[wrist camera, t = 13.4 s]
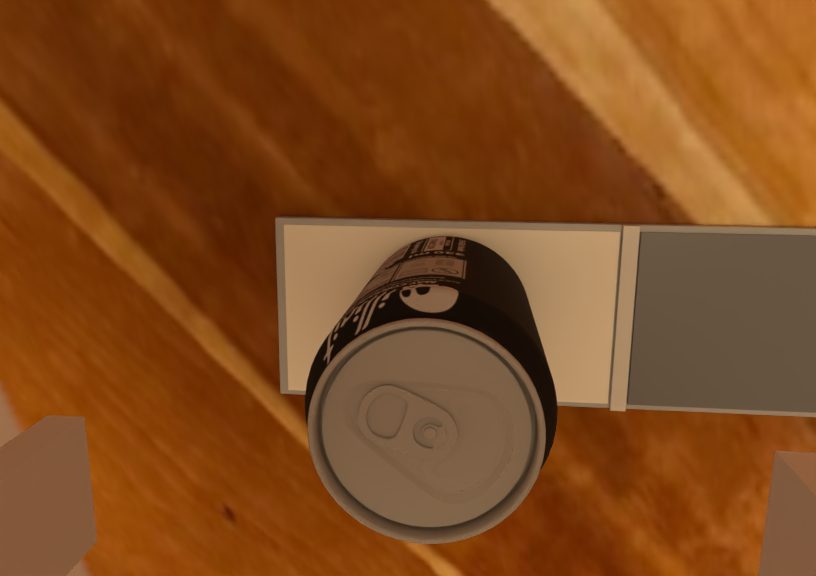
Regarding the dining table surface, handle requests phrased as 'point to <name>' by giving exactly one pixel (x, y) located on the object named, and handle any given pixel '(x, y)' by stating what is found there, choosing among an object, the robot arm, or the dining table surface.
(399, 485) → the beverage can
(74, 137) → the dining table surface
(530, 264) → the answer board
